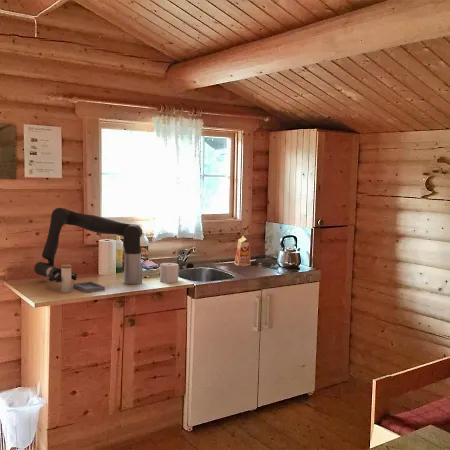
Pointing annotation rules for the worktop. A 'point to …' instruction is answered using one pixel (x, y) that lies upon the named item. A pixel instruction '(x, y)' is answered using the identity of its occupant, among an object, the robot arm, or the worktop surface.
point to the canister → (66, 278)
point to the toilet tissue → (169, 272)
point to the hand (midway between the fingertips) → (67, 279)
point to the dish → (89, 286)
